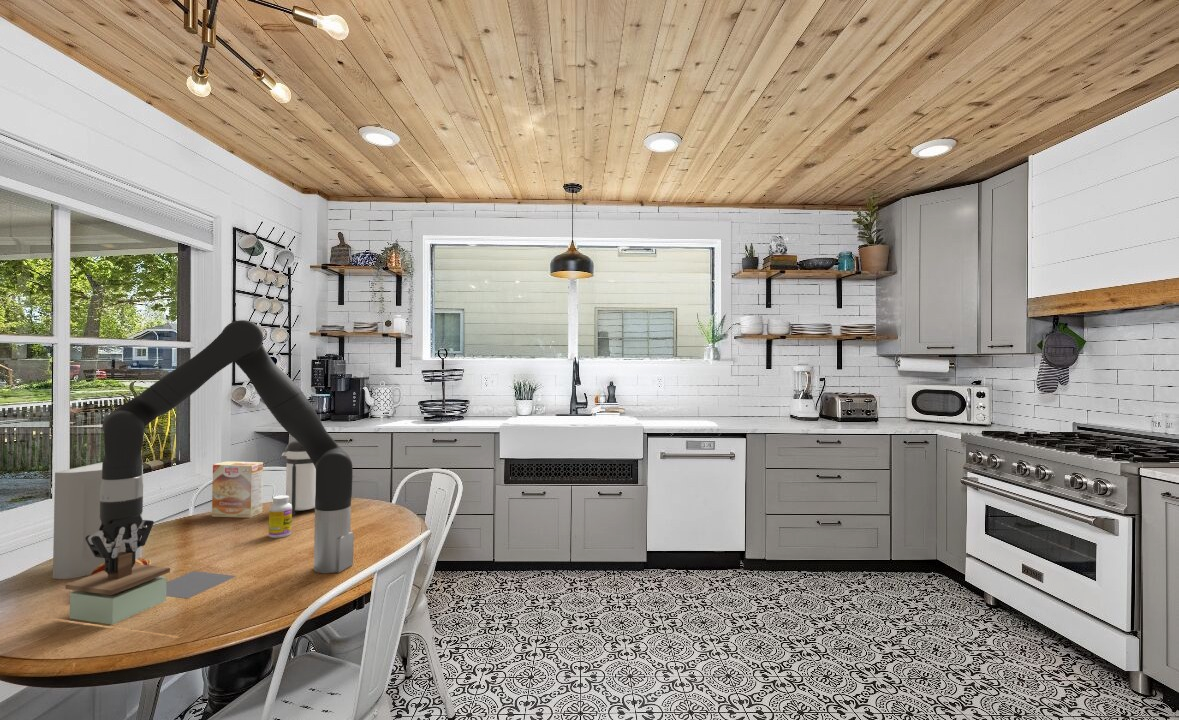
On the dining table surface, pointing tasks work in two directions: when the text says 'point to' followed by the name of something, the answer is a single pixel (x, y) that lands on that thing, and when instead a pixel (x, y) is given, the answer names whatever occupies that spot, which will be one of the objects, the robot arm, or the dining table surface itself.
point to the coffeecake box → (237, 489)
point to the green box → (117, 602)
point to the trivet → (194, 583)
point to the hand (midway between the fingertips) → (120, 570)
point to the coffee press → (299, 478)
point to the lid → (118, 577)
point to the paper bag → (77, 521)
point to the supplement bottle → (280, 517)
